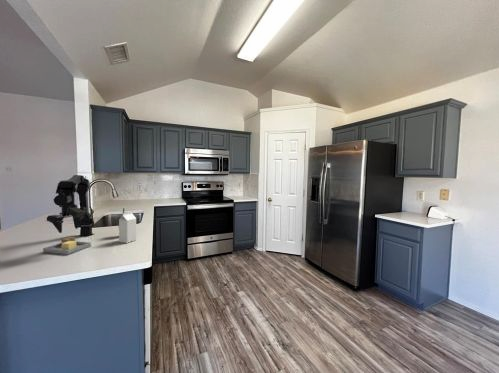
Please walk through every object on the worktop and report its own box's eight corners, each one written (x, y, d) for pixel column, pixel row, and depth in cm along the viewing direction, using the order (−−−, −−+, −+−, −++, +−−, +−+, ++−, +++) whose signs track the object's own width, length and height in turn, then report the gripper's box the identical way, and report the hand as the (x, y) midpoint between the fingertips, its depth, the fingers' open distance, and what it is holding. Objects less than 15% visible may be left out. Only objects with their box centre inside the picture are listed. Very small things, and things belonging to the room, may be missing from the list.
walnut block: (69, 244, 132) (68, 236, 132) (75, 244, 131) (75, 237, 131) (61, 246, 127) (61, 239, 127) (68, 247, 127) (67, 239, 126)
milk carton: (136, 240, 145) (136, 212, 144) (127, 243, 139) (127, 214, 137) (128, 239, 148) (128, 211, 146) (118, 242, 141) (118, 213, 140)
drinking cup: (124, 238, 149) (124, 209, 148) (114, 237, 150) (114, 208, 149) (132, 235, 156) (132, 207, 155) (123, 234, 158) (123, 207, 157)
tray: (67, 244, 133) (67, 240, 133) (90, 246, 131) (90, 242, 131) (43, 252, 120) (43, 248, 119) (68, 255, 117) (68, 250, 117)
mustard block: (69, 248, 125) (69, 240, 125) (76, 249, 124) (76, 241, 124) (61, 251, 121) (61, 243, 120) (68, 251, 120) (68, 243, 120)
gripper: (64, 206, 110) (64, 236, 111) (95, 201, 129) (95, 227, 130) (45, 205, 112) (46, 234, 113) (78, 200, 130) (79, 226, 131)
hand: (68, 230), depth 122 cm, fingers open, 9 cm apart
